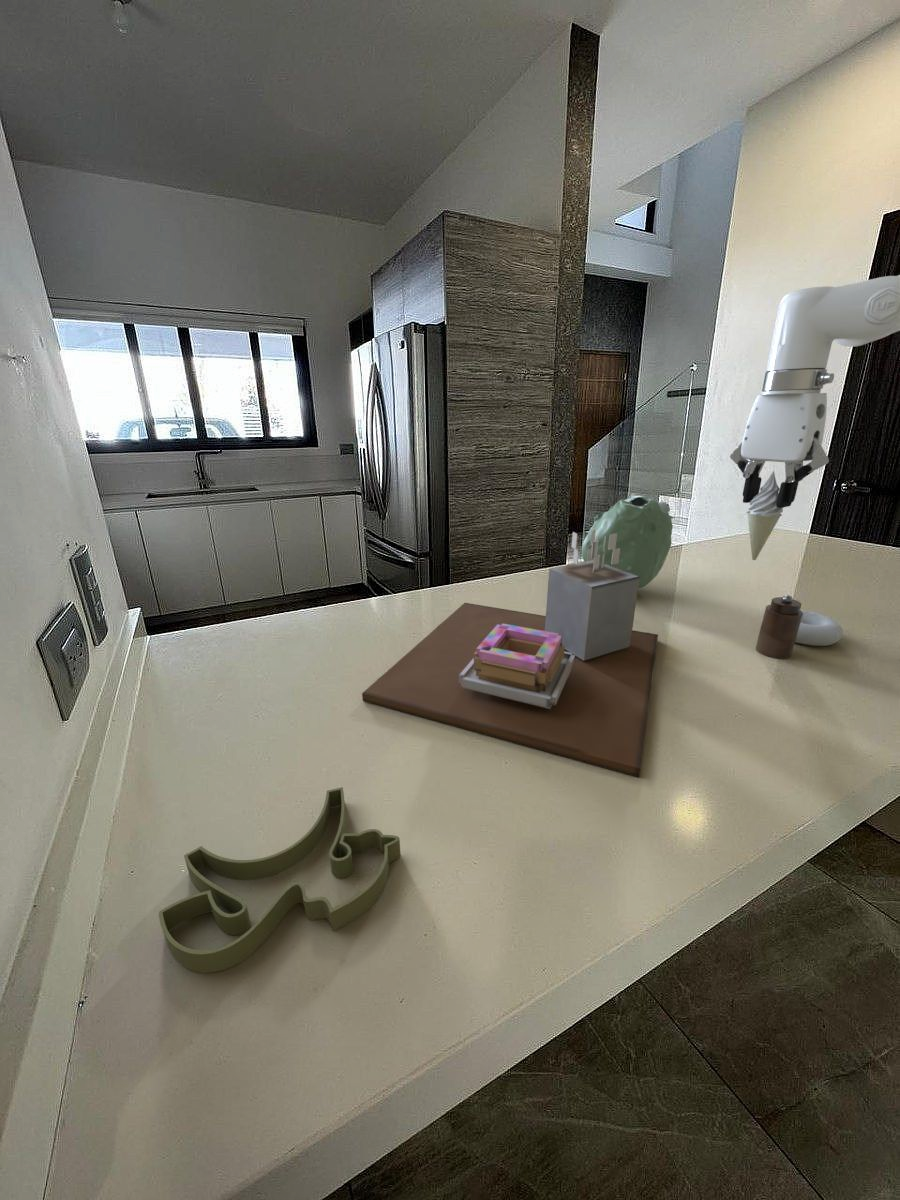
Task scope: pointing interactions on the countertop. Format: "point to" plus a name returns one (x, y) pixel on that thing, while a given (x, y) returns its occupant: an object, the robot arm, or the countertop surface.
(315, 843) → the cookie cutter
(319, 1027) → the countertop surface
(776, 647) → the pepper mill
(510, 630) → the brown serving board set
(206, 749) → the countertop surface
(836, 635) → the donut
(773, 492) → the ice cream cone
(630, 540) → the green ceramic vase
